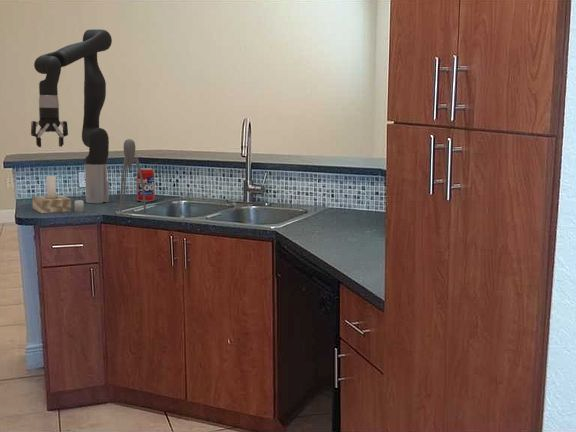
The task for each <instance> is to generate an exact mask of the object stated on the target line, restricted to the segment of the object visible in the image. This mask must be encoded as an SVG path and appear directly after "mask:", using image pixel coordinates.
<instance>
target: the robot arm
mask: <svg viewBox="0 0 576 432" xmlns="http://www.w3.org/2000/svg"><path fill="white" fill-rule="evenodd" d="M112 41H113V40H112V36H111V34H110V32H109V31H108V30H105V29H99V28H98V29H87V30H85V32H84V34H83V37H82V41H79V42H76V43H75V42H74V43H71V44H69V45H66V46H64V47H61V48H59V49H57V50H55V51H53V52H49V53H45V54H42V55H40V56H38V57H37V58H36V59H35V60H34V63H33V66H34V70H35V71H36V72H37V73H39V74H41V75H45V78H44V79H42V80H40V81H39V83H38V89H39V90H38V92H39V93H38V94H39V97H38V110H39V114H38V115H39V117H38V118H39V121H35V120H32V121H31V122H30V123H31V126H30V135H31V137H35V140H36V141H35V143H36V146H37V147H38V148H42V138H41V137H42V136H43V134H44V133H49V132H50V133H54V132H55V134H57V135H58V147H59V148H60V147H61V148H63V146H64V143H65V142H64V137H66V136H68V135H69V132H68V131H69V130H68V121H67V120H63V121H60V111H59V110H60V107H59V106H60V103H59V96H58V95H59V94H58V93H59V92H58V91H59V89H58V84H59V81H60V77H61V71H62V68H64V67H67V66H69V65H72V64H73V63H76V62H77V61H79V60H81V59H83V63H84V65H83V66H84V67H83V69H84V71H83V73H84V74H83V75H84V80H83V81H84V82H83V119H82V120H83V121H82V130H81V141H82V144H84V146H85V147H87V148H88V149H89V150H88V155H87V156H86V157H85V158H84V169H85V171H84V175H85V178H84V179H85V203H86V204H104V203H103V202H106V203H109V201H110V198H109V195H110V191H109V187H110V186H109V185H110V184H109V180H108V174H107V171H108V170H107V169H108V168H107V164H108V163H107V161H108V157H109V148H110V147H109V146H110V145H109V144H110V143H109V142H110V139H109V134H108V132H107V131H106V130H105V129H104V128H102V127H100V116H101V112H102V109H103V107H104V104H105V100H106V96H107V89H106V88H107V83H106V82H107V81H106V78H105V76H104V75H103V73H102V71H101V68H100V66H99V63H98V53H99V52H106V51H107V50H109V49H110V48H111V46H112V44H113V43H112ZM38 125H39V127H40V128H39V130H38V131H37V127H38ZM60 125H61V127H62V130H60V128H59V127H60Z"/></svg>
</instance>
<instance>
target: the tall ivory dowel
mask: <svg viewBox="0 0 576 432" xmlns="http://www.w3.org/2000/svg"><path fill="white" fill-rule="evenodd" d="M45 179H46V196H47V199H56V196H57V181H56V179H57V177H56V175H47V176H46V177H45Z"/></svg>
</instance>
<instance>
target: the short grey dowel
mask: <svg viewBox="0 0 576 432" xmlns="http://www.w3.org/2000/svg"><path fill="white" fill-rule="evenodd" d="M84 206H85V205H84V200H81V199H80V200H79V199H75V200H74V213H84V211H85V209H84V208H85V207H84Z"/></svg>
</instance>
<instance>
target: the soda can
mask: <svg viewBox="0 0 576 432" xmlns="http://www.w3.org/2000/svg"><path fill="white" fill-rule="evenodd" d="M140 169H141V173H142V179H143V185H144V192H145V203H152V202H153V201H155V171H154V169H153V168H149V167H140ZM136 200H137V201H138V202H140V201H141V202H140V203H143V193H142V186H141V181H140V176H139V171H138V170H137V171H136ZM151 201H152V202H151Z"/></svg>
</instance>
